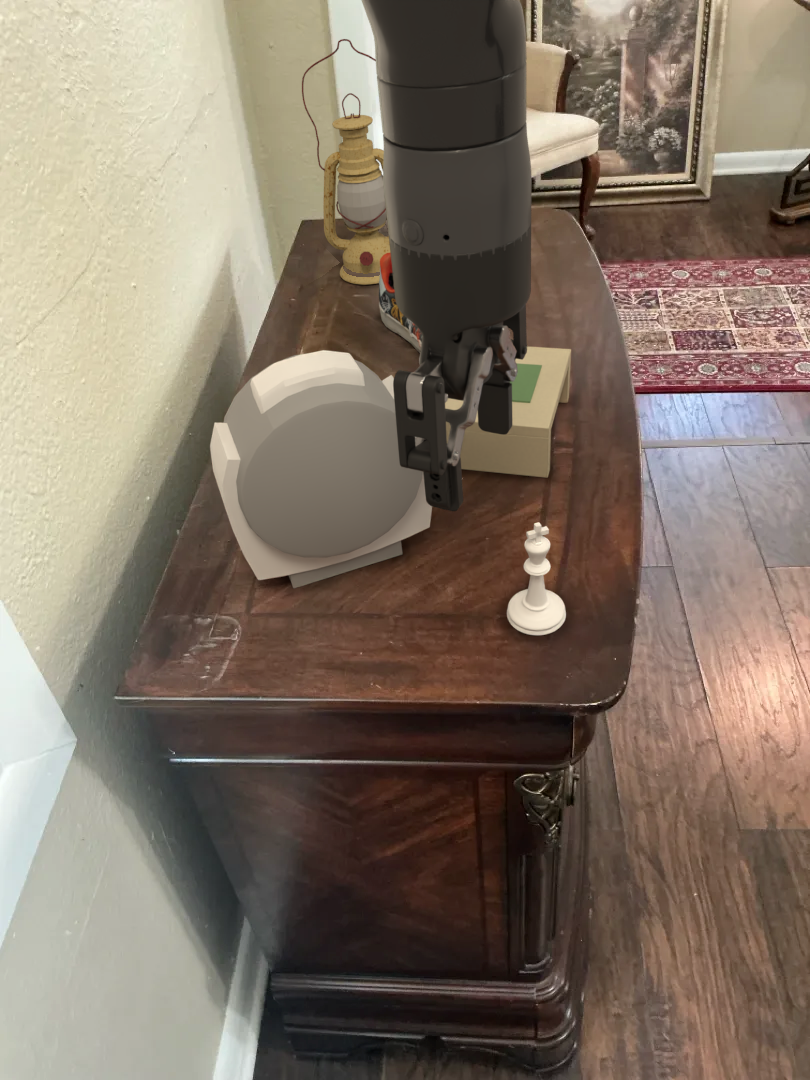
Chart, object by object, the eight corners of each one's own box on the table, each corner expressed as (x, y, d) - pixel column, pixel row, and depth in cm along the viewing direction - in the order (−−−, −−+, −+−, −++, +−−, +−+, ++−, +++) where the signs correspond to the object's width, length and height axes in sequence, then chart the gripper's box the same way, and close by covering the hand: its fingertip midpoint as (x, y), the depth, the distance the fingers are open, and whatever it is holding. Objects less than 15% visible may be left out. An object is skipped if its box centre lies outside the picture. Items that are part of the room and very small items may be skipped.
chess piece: (576, 625, 71) (581, 535, 65) (520, 642, 71) (520, 553, 64) (550, 586, 75) (553, 497, 68) (497, 602, 74) (495, 513, 68)
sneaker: (470, 385, 100) (466, 308, 94) (364, 326, 114) (354, 254, 107) (519, 361, 103) (517, 284, 97) (409, 306, 117) (402, 235, 110)
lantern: (327, 290, 122) (288, 54, 102) (333, 260, 130) (298, 34, 110) (411, 284, 121) (389, 44, 101) (412, 254, 129) (392, 25, 109)
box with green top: (569, 396, 97) (571, 347, 93) (547, 478, 86) (548, 426, 82) (464, 388, 100) (462, 340, 96) (432, 466, 89) (427, 416, 85)
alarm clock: (414, 500, 85) (394, 314, 72) (446, 553, 79) (431, 360, 66) (238, 554, 82) (181, 368, 69) (257, 613, 76) (199, 422, 62)
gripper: (473, 286, 39) (484, 549, 50) (570, 174, 48) (562, 416, 59) (330, 269, 42) (370, 521, 53) (447, 166, 51) (461, 398, 62)
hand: (471, 465), depth 56 cm, fingers open, 8 cm apart
